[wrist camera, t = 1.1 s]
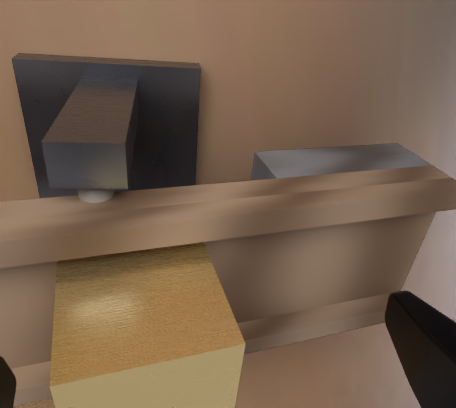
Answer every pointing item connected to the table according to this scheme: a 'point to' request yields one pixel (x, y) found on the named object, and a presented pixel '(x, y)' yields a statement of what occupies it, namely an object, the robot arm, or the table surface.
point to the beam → (236, 245)
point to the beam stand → (109, 122)
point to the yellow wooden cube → (144, 332)
